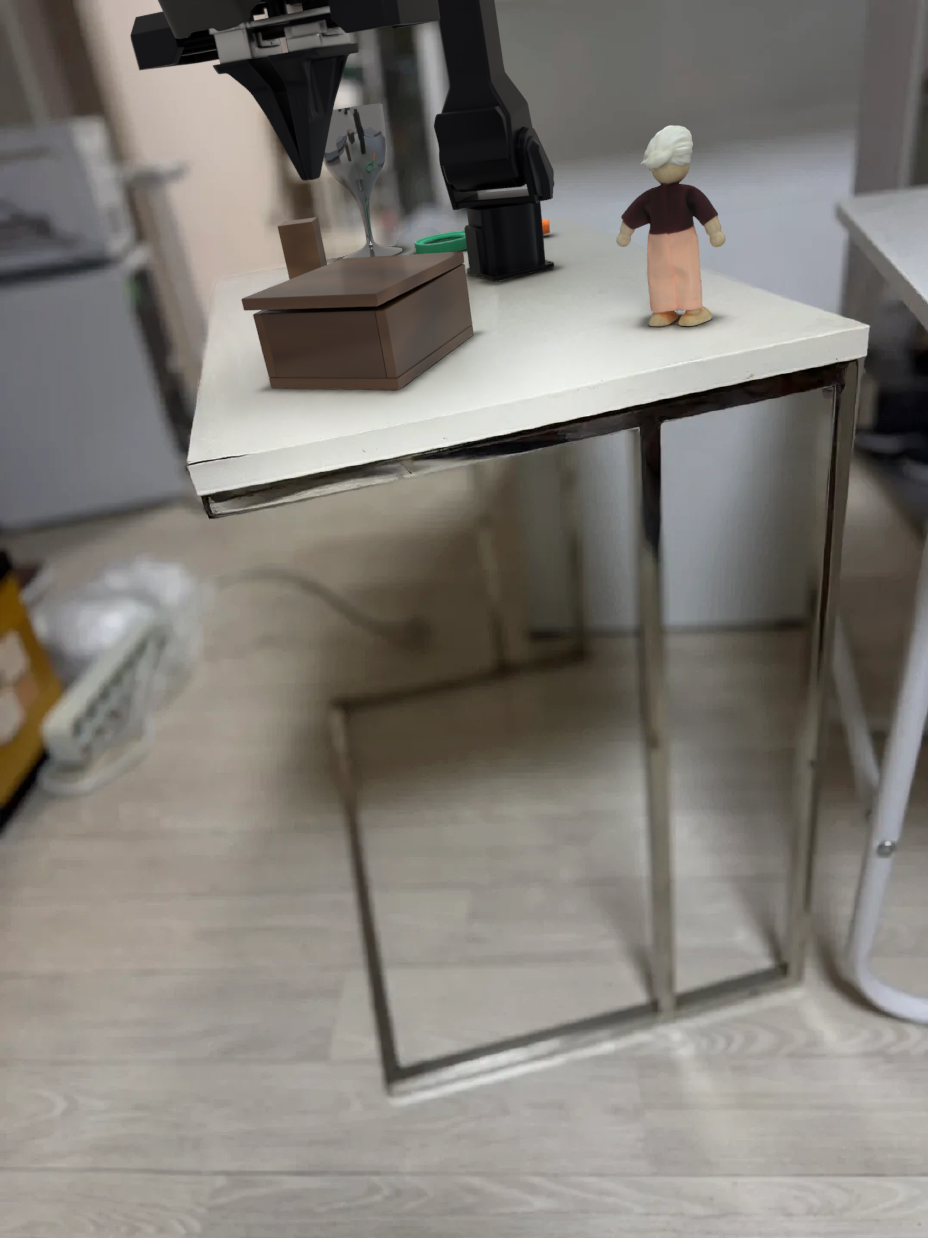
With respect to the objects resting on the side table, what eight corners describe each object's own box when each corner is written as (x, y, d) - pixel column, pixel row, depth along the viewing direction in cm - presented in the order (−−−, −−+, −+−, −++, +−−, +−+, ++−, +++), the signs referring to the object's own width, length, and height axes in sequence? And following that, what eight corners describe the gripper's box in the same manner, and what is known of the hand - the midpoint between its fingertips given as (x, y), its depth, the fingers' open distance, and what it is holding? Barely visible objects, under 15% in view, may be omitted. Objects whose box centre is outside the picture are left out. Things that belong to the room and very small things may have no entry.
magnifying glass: (413, 258, 101) (410, 242, 101) (419, 248, 107) (416, 232, 106) (550, 240, 100) (549, 224, 99) (549, 230, 105) (548, 215, 104)
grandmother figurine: (728, 311, 67) (731, 115, 61) (723, 326, 64) (725, 122, 58) (624, 316, 70) (615, 129, 63) (614, 331, 67) (604, 136, 60)
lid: (377, 306, 58) (375, 293, 58) (243, 310, 63) (240, 298, 62) (464, 262, 68) (463, 251, 68) (344, 269, 73) (342, 258, 72)
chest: (399, 390, 62) (385, 310, 59) (270, 388, 66) (252, 314, 63) (474, 334, 71) (465, 263, 68) (357, 336, 76) (344, 269, 73)
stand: (332, 291, 93) (317, 216, 89) (327, 297, 90) (311, 221, 87) (300, 295, 93) (284, 221, 89) (294, 301, 91) (277, 226, 87)
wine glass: (389, 260, 103) (363, 108, 95) (326, 264, 106) (297, 117, 98) (416, 244, 109) (394, 100, 101) (357, 249, 112) (331, 109, 104)
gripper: (19, -100, 49) (116, 214, 57) (311, -188, 41) (375, 190, 49) (157, -90, 57) (225, 183, 65) (422, -162, 49) (461, 158, 58)
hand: (311, 179), depth 59 cm, fingers closed
